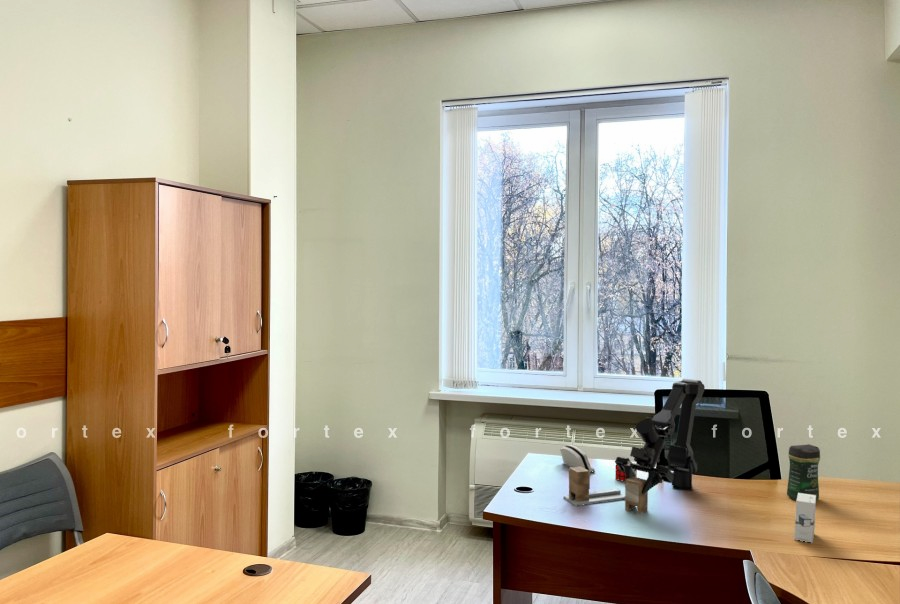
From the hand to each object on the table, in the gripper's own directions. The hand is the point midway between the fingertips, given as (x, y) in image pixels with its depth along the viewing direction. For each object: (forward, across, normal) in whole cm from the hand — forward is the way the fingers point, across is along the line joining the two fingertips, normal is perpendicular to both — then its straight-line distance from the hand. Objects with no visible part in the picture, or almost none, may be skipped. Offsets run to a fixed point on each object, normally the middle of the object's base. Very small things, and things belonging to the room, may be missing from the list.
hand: (634, 491), depth 207 cm
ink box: (-7, +46, +17) cm, 49 cm away
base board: (+4, -16, +6) cm, 17 cm away
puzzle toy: (-15, -19, +24) cm, 34 cm away
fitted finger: (+8, -18, +2) cm, 20 cm away
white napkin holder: (-14, -40, +24) cm, 49 cm away
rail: (+4, -16, +6) cm, 17 cm away
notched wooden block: (+4, 0, +6) cm, 7 cm away
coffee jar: (-32, +34, +42) cm, 63 cm away
